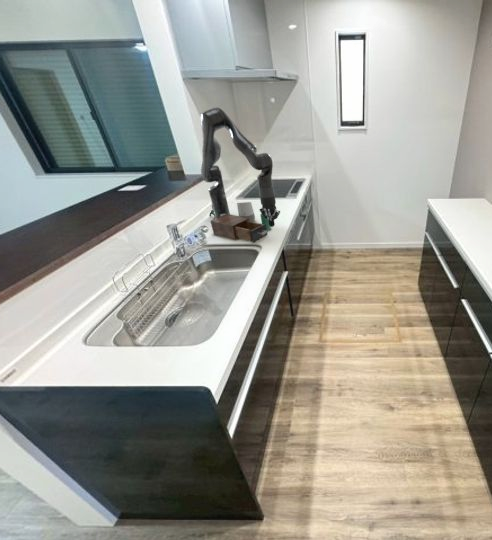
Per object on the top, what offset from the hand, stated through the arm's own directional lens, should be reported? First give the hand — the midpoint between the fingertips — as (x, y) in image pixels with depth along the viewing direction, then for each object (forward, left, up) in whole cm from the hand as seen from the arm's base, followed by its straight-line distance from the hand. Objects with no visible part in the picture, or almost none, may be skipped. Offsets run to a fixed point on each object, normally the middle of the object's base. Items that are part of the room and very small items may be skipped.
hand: (272, 226), depth 161 cm
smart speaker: (-32, +13, -8) cm, 35 cm away
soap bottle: (-13, +9, -8) cm, 18 cm away
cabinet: (-28, -4, -8) cm, 29 cm away
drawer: (-12, -4, -7) cm, 14 cm away
